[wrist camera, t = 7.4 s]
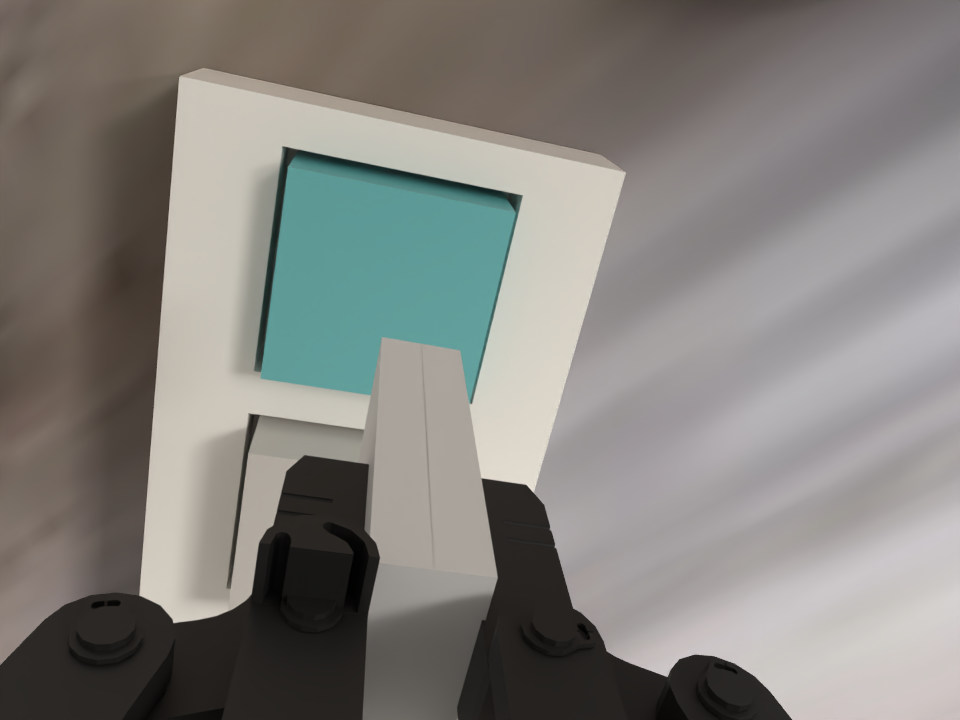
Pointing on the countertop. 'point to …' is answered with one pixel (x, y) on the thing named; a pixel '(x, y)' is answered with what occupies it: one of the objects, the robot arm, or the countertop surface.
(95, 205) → the countertop surface
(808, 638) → the countertop surface
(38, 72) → the countertop surface
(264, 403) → the keypad
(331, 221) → the teal key
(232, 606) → the grey key
